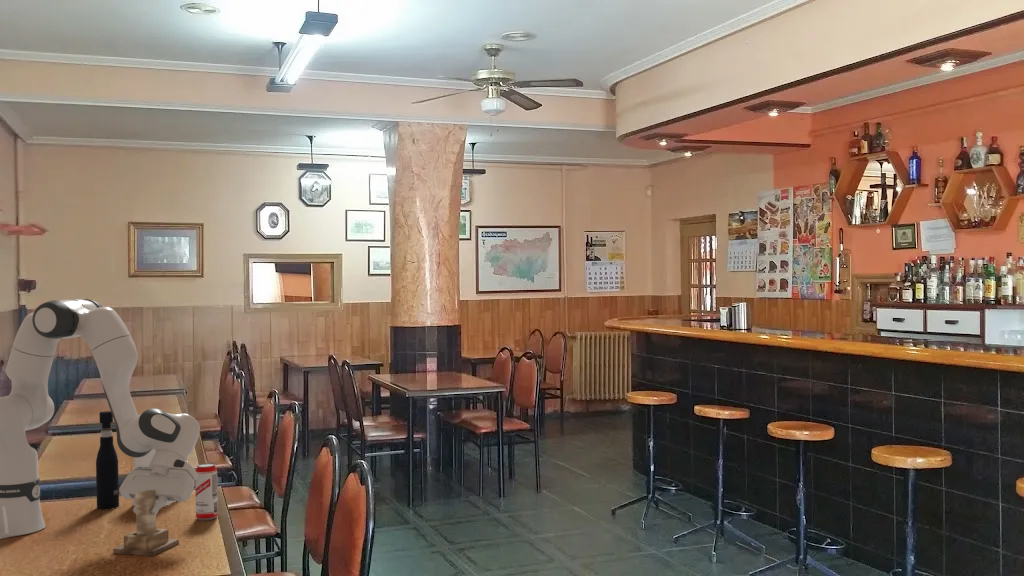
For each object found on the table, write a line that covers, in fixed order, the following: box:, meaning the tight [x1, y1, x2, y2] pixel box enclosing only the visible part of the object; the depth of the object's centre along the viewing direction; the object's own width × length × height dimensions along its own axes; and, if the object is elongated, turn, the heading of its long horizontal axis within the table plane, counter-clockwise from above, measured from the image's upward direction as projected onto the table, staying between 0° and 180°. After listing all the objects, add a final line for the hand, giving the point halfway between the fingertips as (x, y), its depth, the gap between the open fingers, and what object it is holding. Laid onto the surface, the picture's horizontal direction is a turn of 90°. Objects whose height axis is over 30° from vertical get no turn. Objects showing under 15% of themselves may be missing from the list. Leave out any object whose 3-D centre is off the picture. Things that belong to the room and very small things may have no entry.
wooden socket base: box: [112, 528, 180, 557], centre depth 241 cm, size 12×11×4 cm
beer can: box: [194, 462, 219, 521], centre depth 271 cm, size 6×6×16 cm
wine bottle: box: [95, 410, 120, 510], centre depth 285 cm, size 6×6×30 cm
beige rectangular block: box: [135, 490, 157, 536], centre depth 241 cm, size 4×4×12 cm
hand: (144, 512), depth 240 cm, fingers closed on beige rectangular block, 3 cm apart
